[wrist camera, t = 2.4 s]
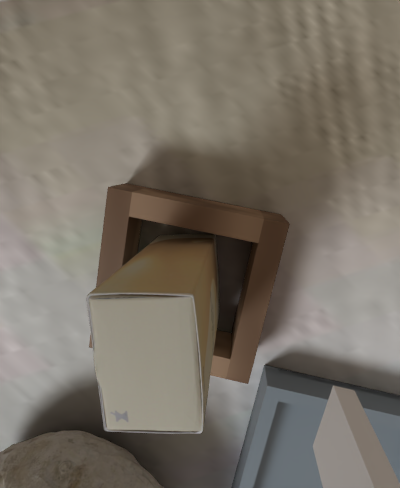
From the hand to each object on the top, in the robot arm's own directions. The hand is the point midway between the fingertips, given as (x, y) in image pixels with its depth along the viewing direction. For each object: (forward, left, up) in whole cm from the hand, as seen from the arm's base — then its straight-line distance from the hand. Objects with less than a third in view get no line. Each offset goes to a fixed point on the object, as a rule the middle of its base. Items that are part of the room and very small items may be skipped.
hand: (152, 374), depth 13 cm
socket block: (0, 0, -13) cm, 13 cm away
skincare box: (0, 0, -13) cm, 13 cm away
